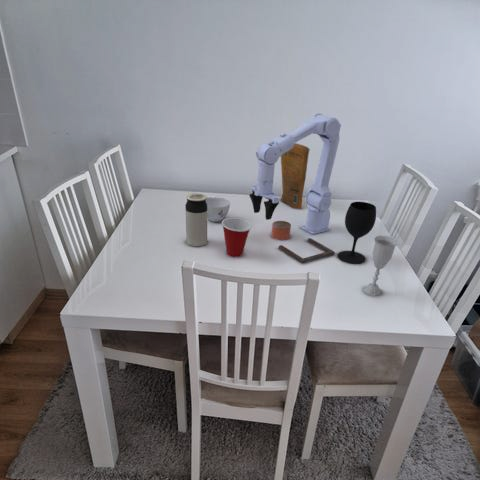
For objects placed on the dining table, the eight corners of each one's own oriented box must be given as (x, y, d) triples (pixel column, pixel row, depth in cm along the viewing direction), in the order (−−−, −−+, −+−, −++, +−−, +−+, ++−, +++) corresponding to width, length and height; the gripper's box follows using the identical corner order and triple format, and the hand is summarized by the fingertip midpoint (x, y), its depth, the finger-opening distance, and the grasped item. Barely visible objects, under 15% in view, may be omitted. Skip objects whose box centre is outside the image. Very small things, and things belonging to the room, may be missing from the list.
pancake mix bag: (295, 211, 193) (303, 147, 177) (272, 198, 206) (278, 138, 190) (307, 209, 196) (316, 146, 180) (283, 196, 209) (290, 137, 193)
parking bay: (309, 240, 167) (310, 237, 166) (334, 254, 158) (334, 251, 157) (278, 248, 159) (278, 245, 159) (302, 263, 150) (302, 260, 149)
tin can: (282, 231, 174) (283, 219, 171) (293, 237, 169) (295, 225, 166) (267, 234, 170) (268, 222, 167) (278, 241, 165) (280, 229, 162)
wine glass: (366, 254, 159) (379, 203, 148) (364, 266, 151) (377, 213, 139) (339, 249, 162) (349, 198, 150) (335, 260, 153) (346, 208, 142)
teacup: (235, 221, 179) (236, 203, 175) (211, 227, 173) (211, 208, 168) (215, 210, 189) (216, 193, 184) (192, 215, 182) (191, 197, 178)
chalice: (358, 285, 139) (371, 235, 129) (378, 285, 140) (392, 235, 130) (365, 297, 133) (379, 245, 123) (386, 297, 134) (401, 246, 124)
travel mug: (211, 242, 161) (212, 196, 150) (196, 248, 156) (195, 201, 145) (197, 236, 165) (197, 191, 154) (182, 242, 160) (180, 195, 150)
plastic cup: (247, 262, 149) (249, 230, 142) (217, 258, 150) (218, 226, 143) (252, 249, 158) (254, 219, 151) (224, 245, 159) (225, 215, 152)
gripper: (245, 175, 155) (243, 211, 163) (268, 187, 145) (265, 224, 153) (260, 173, 158) (257, 208, 166) (284, 184, 148) (280, 220, 156)
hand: (262, 215), depth 160 cm, fingers open, 7 cm apart
